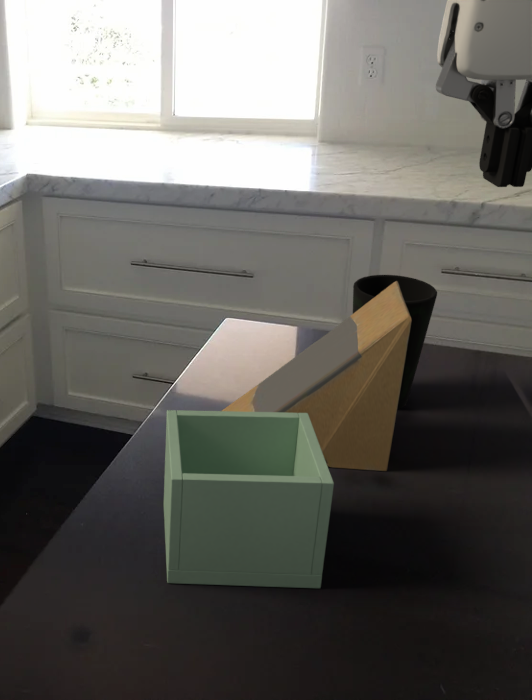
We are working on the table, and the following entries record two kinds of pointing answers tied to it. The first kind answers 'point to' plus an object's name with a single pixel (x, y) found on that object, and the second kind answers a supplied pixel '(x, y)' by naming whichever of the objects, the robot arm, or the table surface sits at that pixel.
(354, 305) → the cup
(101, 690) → the table surface
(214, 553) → the bin
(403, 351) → the sandwich container
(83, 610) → the table surface
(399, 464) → the table surface
